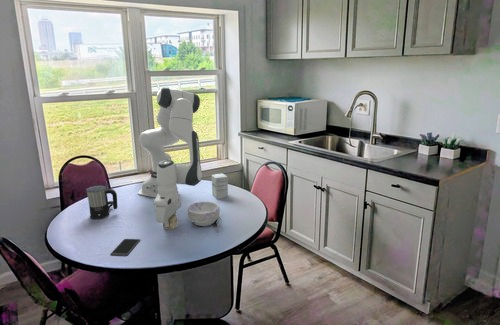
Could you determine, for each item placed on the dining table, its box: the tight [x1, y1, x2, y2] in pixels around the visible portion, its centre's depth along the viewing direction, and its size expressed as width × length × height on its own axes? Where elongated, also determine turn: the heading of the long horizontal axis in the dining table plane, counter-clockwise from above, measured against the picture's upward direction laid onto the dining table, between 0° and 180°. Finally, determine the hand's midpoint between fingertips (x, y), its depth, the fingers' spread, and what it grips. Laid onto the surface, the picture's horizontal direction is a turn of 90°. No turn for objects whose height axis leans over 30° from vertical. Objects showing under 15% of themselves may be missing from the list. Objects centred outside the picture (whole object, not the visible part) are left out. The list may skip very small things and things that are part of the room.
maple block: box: [162, 214, 179, 230], centre depth 165 cm, size 5×5×5 cm
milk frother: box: [85, 185, 118, 220], centre depth 181 cm, size 14×16×15 cm
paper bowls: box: [187, 201, 221, 227], centre depth 169 cm, size 15×15×8 cm
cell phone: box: [110, 238, 141, 257], centre depth 147 cm, size 7×14×1 cm, turn 175°
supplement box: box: [211, 173, 229, 200], centre depth 203 cm, size 7×7×13 cm
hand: (170, 223), depth 165 cm, fingers closed on maple block, 5 cm apart
